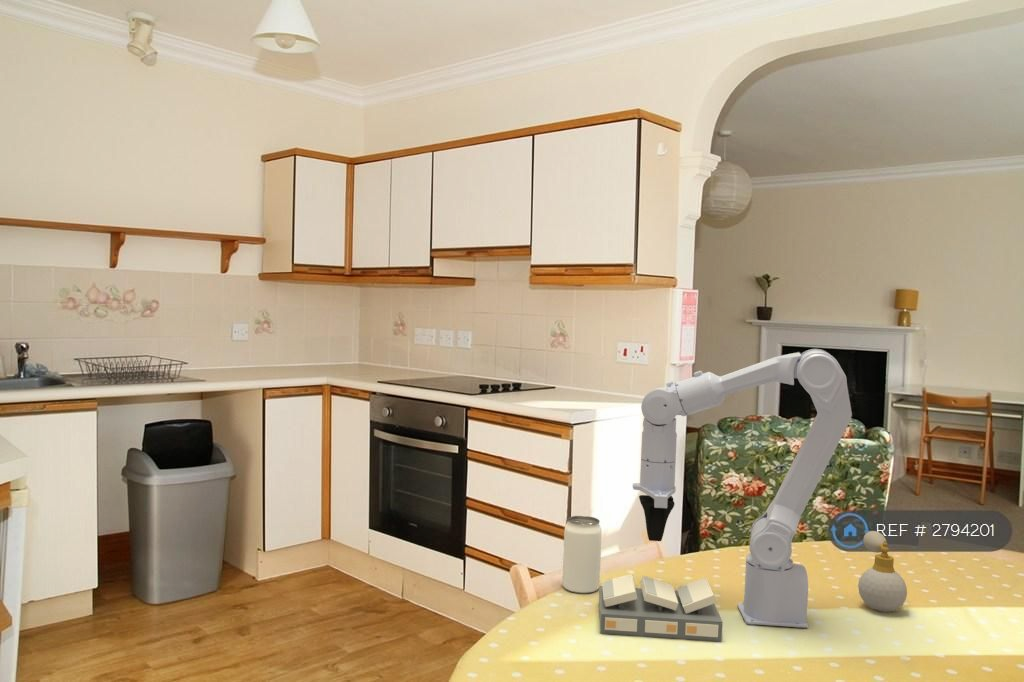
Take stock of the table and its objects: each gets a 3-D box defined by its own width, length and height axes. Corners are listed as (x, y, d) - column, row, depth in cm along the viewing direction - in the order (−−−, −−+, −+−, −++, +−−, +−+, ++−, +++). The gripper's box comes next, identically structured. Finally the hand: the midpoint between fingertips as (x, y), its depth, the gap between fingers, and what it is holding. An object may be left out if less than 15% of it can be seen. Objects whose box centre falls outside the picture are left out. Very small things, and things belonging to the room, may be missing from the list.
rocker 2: (708, 583, 131) (705, 576, 131) (716, 602, 123) (713, 594, 123) (679, 594, 131) (676, 587, 131) (685, 613, 123) (682, 606, 123)
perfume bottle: (880, 620, 132) (885, 547, 131) (837, 598, 141) (841, 530, 140) (916, 615, 134) (920, 544, 134) (871, 594, 143) (875, 527, 143)
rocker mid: (670, 591, 131) (672, 584, 131) (676, 610, 123) (678, 602, 123) (640, 582, 132) (642, 574, 132) (644, 600, 124) (646, 592, 124)
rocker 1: (634, 580, 132) (631, 573, 132) (637, 599, 124) (635, 591, 124) (604, 588, 132) (602, 581, 132) (605, 607, 124) (603, 599, 124)
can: (597, 596, 138) (600, 526, 137) (559, 592, 139) (562, 523, 139) (600, 583, 144) (603, 516, 144) (564, 579, 146) (567, 513, 145)
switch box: (709, 610, 133) (710, 588, 133) (721, 642, 121) (723, 617, 121) (598, 603, 134) (599, 581, 134) (600, 634, 122) (601, 609, 122)
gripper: (631, 450, 143) (628, 526, 144) (637, 467, 129) (633, 551, 129) (671, 452, 142) (668, 528, 143) (682, 469, 128) (678, 554, 129)
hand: (654, 539), depth 136 cm, fingers closed
